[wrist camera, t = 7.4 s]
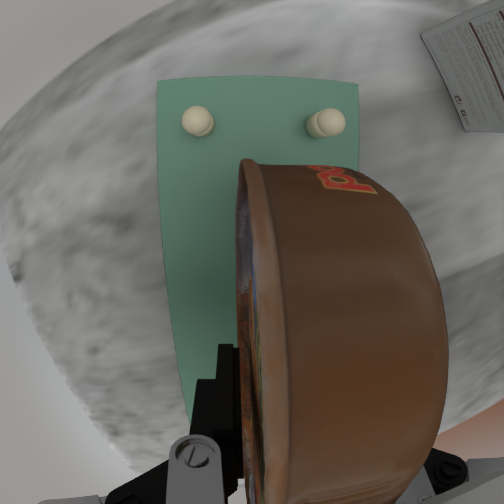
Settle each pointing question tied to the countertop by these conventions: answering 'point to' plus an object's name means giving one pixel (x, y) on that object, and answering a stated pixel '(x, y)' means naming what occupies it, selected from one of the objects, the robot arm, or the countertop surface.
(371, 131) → the countertop surface
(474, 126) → the supplement box
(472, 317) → the countertop surface
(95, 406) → the countertop surface
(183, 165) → the green peg board
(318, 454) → the tin
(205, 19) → the countertop surface
